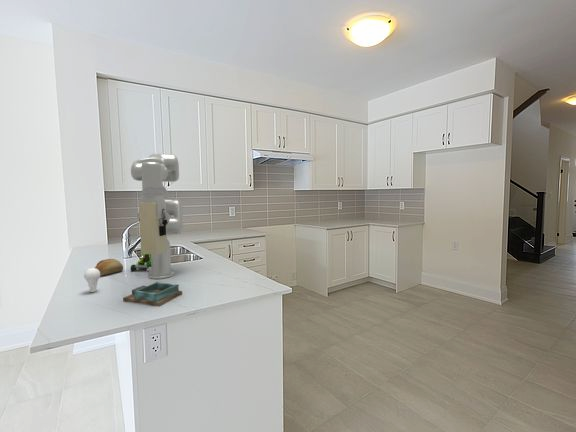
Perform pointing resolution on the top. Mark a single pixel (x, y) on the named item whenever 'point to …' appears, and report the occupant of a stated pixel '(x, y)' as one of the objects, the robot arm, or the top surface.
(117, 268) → the bread roll
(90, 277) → the lightbulb
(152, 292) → the board
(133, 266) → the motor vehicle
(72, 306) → the top surface
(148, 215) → the beige long rectangular block
